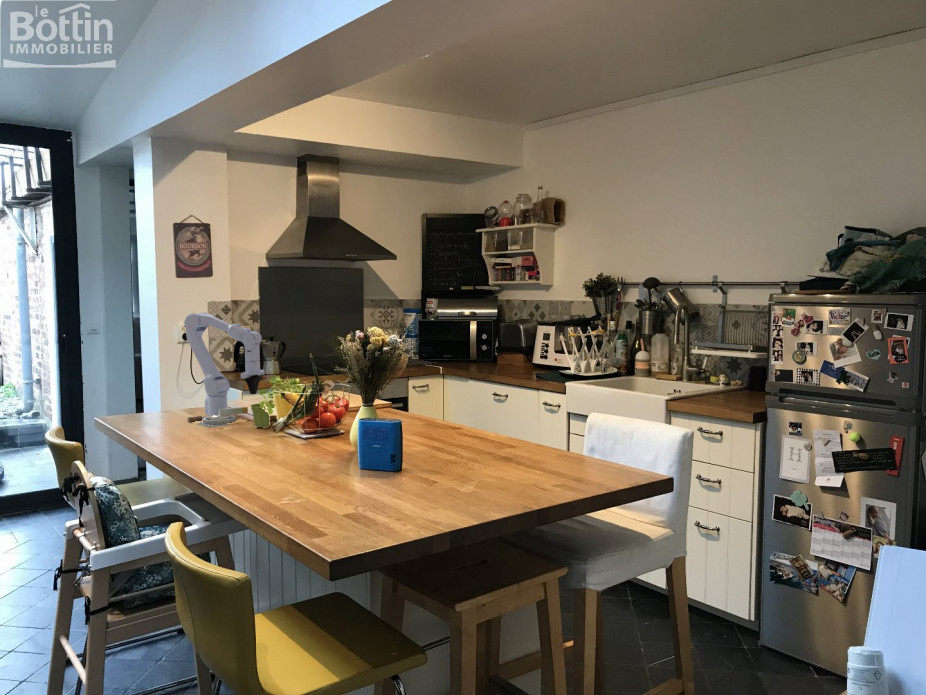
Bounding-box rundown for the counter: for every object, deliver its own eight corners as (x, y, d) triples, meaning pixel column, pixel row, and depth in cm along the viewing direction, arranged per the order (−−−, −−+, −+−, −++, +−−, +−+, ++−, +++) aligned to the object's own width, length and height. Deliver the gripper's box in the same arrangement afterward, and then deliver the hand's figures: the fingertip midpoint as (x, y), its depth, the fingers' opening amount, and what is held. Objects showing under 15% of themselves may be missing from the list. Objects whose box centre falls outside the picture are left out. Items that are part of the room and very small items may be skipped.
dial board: (186, 423, 292) (186, 418, 292) (228, 417, 305) (227, 412, 305) (210, 429, 280) (209, 423, 280) (252, 423, 293) (252, 417, 293)
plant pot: (269, 424, 291) (268, 402, 290) (280, 427, 284) (279, 405, 283) (246, 427, 285) (245, 404, 284) (257, 430, 278) (256, 407, 277)
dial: (211, 423, 287) (211, 411, 287) (206, 420, 294) (206, 408, 294) (250, 419, 295) (249, 408, 295) (244, 416, 302) (244, 405, 301)
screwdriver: (190, 422, 290) (190, 417, 290) (187, 422, 291) (187, 417, 291) (218, 418, 299) (218, 413, 299) (215, 418, 300) (215, 413, 300)
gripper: (251, 362, 295) (252, 396, 296) (270, 359, 309) (271, 392, 310) (235, 362, 297) (236, 396, 298) (255, 359, 311) (256, 391, 312)
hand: (253, 394), depth 304 cm, fingers closed
